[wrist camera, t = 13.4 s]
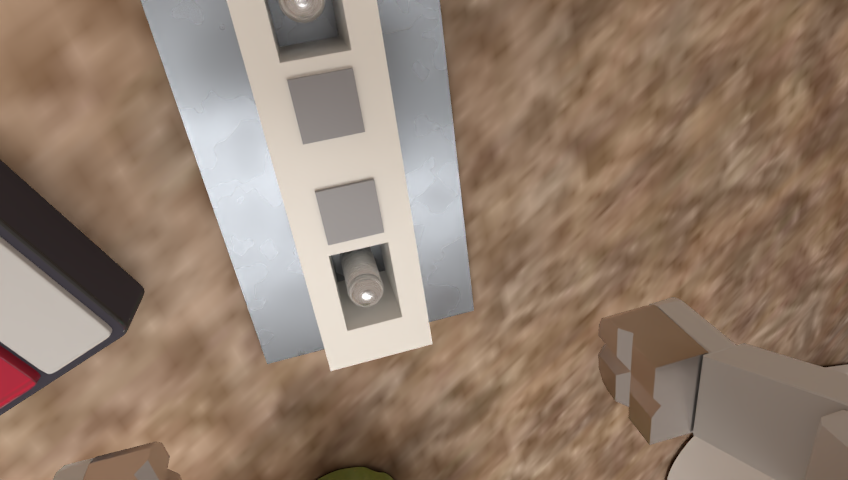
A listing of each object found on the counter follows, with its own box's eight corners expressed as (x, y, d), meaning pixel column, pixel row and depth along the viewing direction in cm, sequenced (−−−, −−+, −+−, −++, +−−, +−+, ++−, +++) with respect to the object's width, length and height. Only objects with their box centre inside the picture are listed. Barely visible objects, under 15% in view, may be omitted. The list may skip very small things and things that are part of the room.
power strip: (337, -132, 21) (352, -156, 17) (412, 295, 31) (433, 346, 27) (204, -115, 20) (187, -135, 16) (323, 318, 30) (331, 373, 26)
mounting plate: (411, -198, 22) (457, -254, 16) (468, 301, 33) (507, 368, 27) (90, -163, 20) (20, -211, 14) (267, 352, 31) (265, 435, 26)
